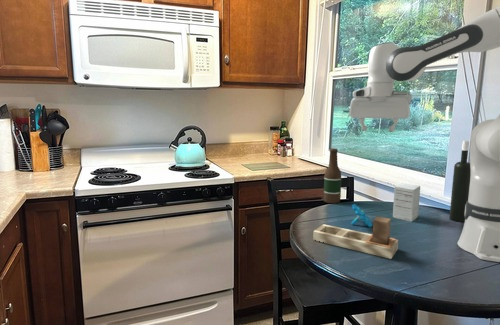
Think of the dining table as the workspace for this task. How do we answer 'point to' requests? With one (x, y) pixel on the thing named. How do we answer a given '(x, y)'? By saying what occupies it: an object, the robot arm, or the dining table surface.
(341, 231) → the wooden compartment tray
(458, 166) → the wine bottle
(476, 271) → the dining table surface
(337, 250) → the dining table surface
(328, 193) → the beer bottle
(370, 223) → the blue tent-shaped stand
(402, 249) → the dining table surface
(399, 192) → the supplement box
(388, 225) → the peg
